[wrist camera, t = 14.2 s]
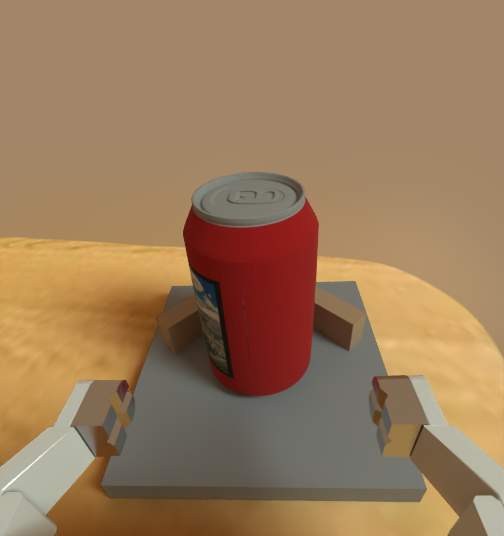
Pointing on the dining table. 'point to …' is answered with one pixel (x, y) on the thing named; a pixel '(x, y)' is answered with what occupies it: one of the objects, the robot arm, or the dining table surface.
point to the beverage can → (254, 278)
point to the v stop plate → (261, 419)
